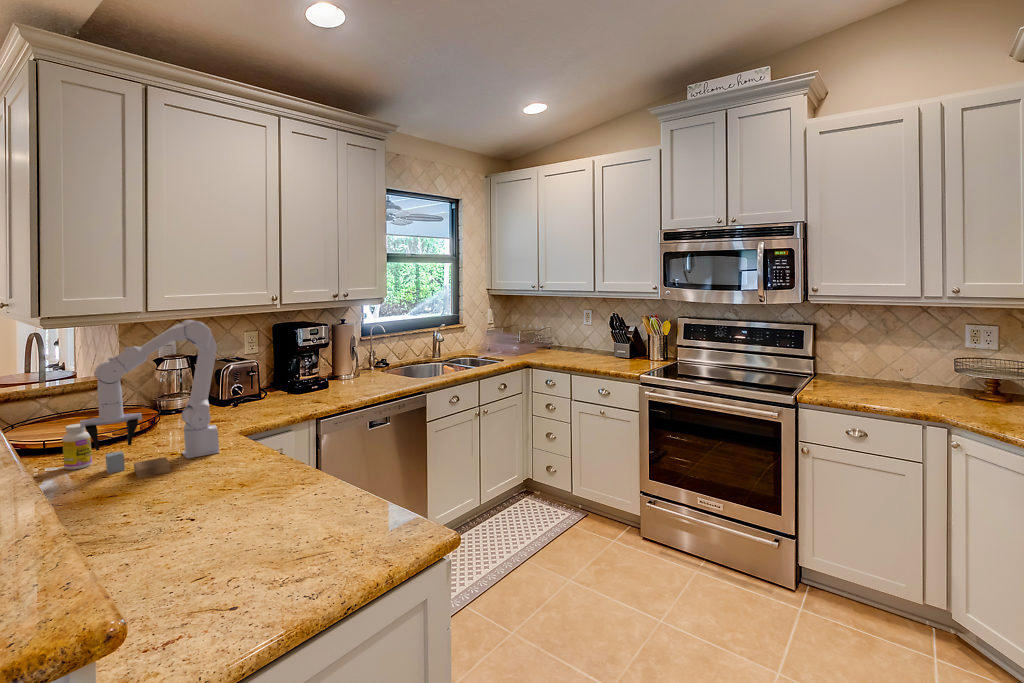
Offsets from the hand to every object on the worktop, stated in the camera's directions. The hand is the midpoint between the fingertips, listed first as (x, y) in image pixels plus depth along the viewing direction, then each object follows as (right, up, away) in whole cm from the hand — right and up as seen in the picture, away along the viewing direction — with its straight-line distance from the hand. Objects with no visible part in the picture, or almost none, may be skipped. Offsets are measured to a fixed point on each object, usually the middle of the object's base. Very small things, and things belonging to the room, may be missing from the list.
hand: (113, 447), depth 157 cm
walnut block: (+12, -8, 0) cm, 14 cm away
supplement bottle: (-13, -7, +4) cm, 15 cm away
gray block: (0, -7, +1) cm, 7 cm away
